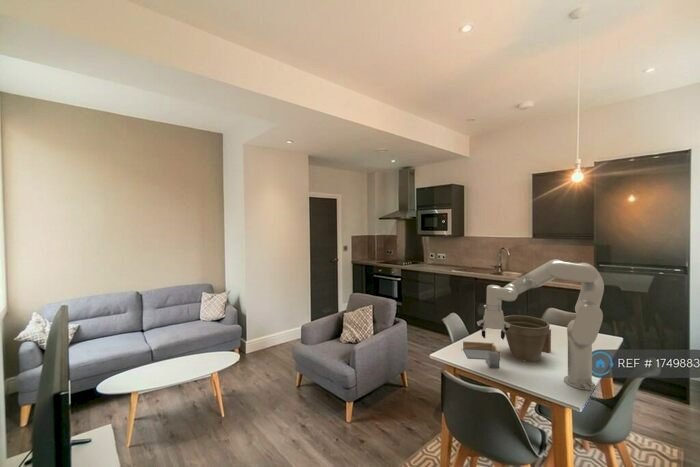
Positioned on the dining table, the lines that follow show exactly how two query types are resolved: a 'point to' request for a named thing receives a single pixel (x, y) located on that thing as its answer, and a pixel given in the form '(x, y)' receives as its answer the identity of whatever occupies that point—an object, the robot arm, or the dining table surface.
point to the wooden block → (547, 343)
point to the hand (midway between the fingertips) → (493, 338)
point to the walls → (480, 346)
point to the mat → (477, 354)
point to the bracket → (493, 360)
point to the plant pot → (526, 336)
